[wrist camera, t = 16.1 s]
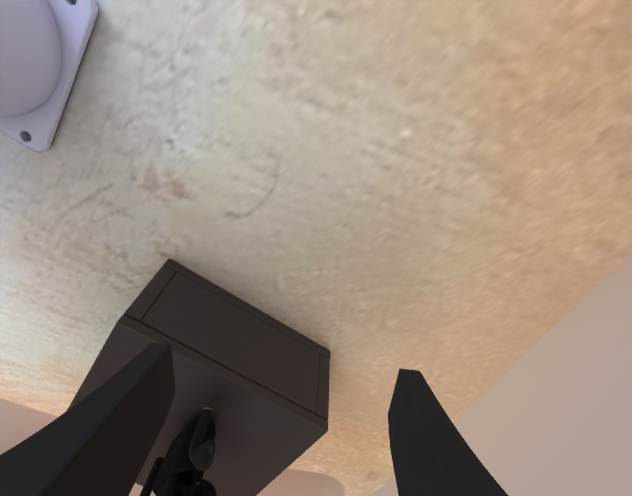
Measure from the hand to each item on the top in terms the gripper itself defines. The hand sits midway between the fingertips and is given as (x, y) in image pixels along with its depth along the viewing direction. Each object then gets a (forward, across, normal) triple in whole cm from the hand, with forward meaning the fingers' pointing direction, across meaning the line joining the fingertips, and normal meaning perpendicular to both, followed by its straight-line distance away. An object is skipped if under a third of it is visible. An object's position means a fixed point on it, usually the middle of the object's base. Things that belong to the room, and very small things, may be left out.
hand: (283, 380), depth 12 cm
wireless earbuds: (+5, +4, +9) cm, 11 cm away
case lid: (+5, +6, +10) cm, 12 cm away
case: (+10, +5, +9) cm, 15 cm away
